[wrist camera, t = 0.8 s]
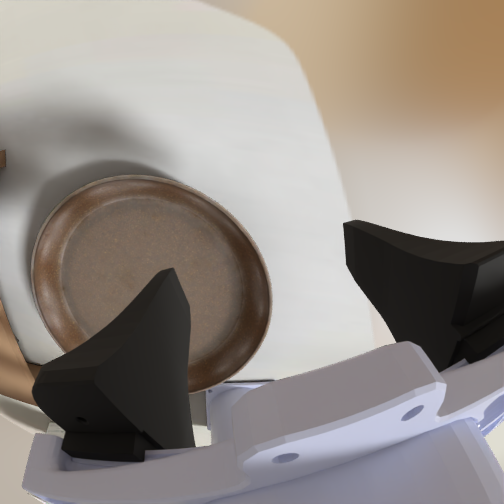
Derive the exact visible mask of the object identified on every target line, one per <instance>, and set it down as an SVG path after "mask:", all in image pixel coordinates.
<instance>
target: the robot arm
mask: <svg viewBox="0 0 504 504" xmlns="http://www.w3.org/2000/svg"><path fill="white" fill-rule="evenodd" d="M343 228H344V240H345V254H346V265H347V267H348V269H349V271H350V273H351V274H352V276H353V278H354V280H355V281H356V283H357V284H358V286H359V287H360V288H361V290H362V291H363V292H364V294H365V295H366V296H367V298H368V299H369V300H370V302H371V303H372V304H373V305H374V307H375V308H376V309H377V311H378V312H379V313H380V315H381V316H382V318H383V319H384V321H385V322H386V324H387V326H388V327H389V329H390V331H391V333H392V335H393V337H394V339H395V341H396V343H395V344H390V345H385V346H382V347H379V348H377V349H374V350H372V351H369V352H366V353H364V354H361V355H358V356H355V357H352V358H349V359H347V360H344V361H341V362H338V363H335V364H332V365H328V366H325V367H322V368H319V369H316V370H312V371H309V372H305V373H302V374H298V375H295V376H291V377H287V378H284V379H280V380H276V381H271V382H251V383H221V384H219V385H217V386H215V387H213V388H210V389H208V390H206V412H207V429H208V430H211V444H212V445H209V446H203V447H196V446H195V441H194V435H193V428H192V421H191V413H190V404H189V392H188V358H189V346H190V334H191V314H190V305H189V303H188V300H187V298H186V296H185V293H184V291H183V289H182V286H181V284H180V281H179V279H178V277H177V274H176V272H175V269H174V267H172V268H169V269H165V270H161V271H159V272H158V273H157V274H156V275H155V276H154V277H153V278H152V279H151V280H150V281H149V283H148V284H147V285H146V286H145V287H144V288H143V289H142V291H141V292H140V293H139V294H138V295H137V296H136V297H135V298H134V299H133V300H132V302H131V303H130V304H129V305H128V306H127V307H126V308H125V309H124V310H123V311H122V312H121V313H120V314H119V315H118V316H117V317H116V318H115V319H114V320H112V321H111V322H110V323H109V324H108V325H107V326H106V327H104V328H103V329H102V330H100V331H99V332H98V333H96V334H95V335H94V336H92V337H91V338H90V339H88V340H87V341H86V342H84V343H82V344H81V345H79V346H78V347H76V348H75V349H73V350H71V351H70V352H68V353H66V354H64V355H62V356H60V357H58V358H56V359H54V360H52V361H50V362H48V363H46V364H44V365H42V367H41V369H40V371H39V373H38V375H37V378H36V380H35V382H34V385H33V387H32V391H31V392H32V396H33V399H34V401H35V402H36V404H37V405H38V407H39V408H40V409H41V410H42V411H43V412H44V413H45V414H46V415H47V416H48V417H49V418H51V419H52V420H53V421H54V422H55V423H56V424H57V425H58V426H60V427H61V428H62V429H63V430H64V431H65V435H64V439H63V438H61V437H59V436H56V435H50V434H42V433H35V436H34V440H33V443H32V447H31V450H30V454H29V458H28V462H27V466H26V470H25V474H24V479H23V483H22V487H23V489H25V490H26V491H28V492H30V493H31V494H33V495H35V496H37V497H39V498H41V499H42V500H44V501H46V502H48V503H50V504H504V472H503V470H502V469H501V467H500V465H499V463H498V461H497V459H496V457H495V456H494V454H493V452H492V450H491V448H490V447H489V445H488V443H487V442H486V440H485V438H484V437H485V436H486V435H487V434H489V433H490V432H491V431H492V430H493V429H495V428H496V427H497V426H498V425H499V424H501V423H502V422H503V421H504V241H494V242H472V243H471V242H468V243H467V242H451V241H442V240H434V239H429V238H424V237H419V236H414V235H410V234H406V233H403V232H399V231H396V230H392V229H389V228H386V227H382V226H379V225H376V224H372V223H369V222H365V221H361V220H353V221H349V222H346V223H343Z"/></svg>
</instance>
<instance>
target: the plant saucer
mask: <svg viewBox="0 0 504 504" xmlns="http://www.w3.org/2000/svg"><path fill="white" fill-rule="evenodd" d="M172 267H174V269H175V272H176V274H177V277H178V279H179V281H180V284H181V286H182V289H183V291H184V293H185V296H186V298H187V300H188V303H189V305H190V314H191V334H190V346H189V358H188V392H189V394H194V393H198V392H202V391H205V390H208V389H210V388H213V387H215V386H217V385H219V384H221V383H223V382H225V381H227V380H228V379H230V378H231V377H233V376H234V375H236V374H237V373H238V372H239V371H240V370H242V369H243V368H244V367H245V366H246V365H247V364H248V363H249V361H250V360H251V359H252V358H253V357H254V355H255V354H256V352H257V351H258V350H259V348H260V346H261V345H262V343H263V341H264V339H265V337H266V334H267V331H268V328H269V325H270V321H271V315H272V302H273V300H272V287H271V281H270V276H269V273H268V269H267V266H266V263H265V261H264V258H263V256H262V254H261V252H260V250H259V248H258V246H257V245H256V243H255V242H254V240H253V239H252V237H251V236H250V234H249V233H248V232H247V230H246V229H245V228H244V227H243V225H242V224H241V223H240V222H239V221H238V220H237V219H236V218H235V217H234V216H233V215H232V214H231V213H230V212H229V211H227V210H226V209H225V208H224V207H223V206H221V205H220V204H219V203H217V202H216V201H214V200H213V199H212V198H210V197H208V196H206V195H205V194H203V193H201V192H200V191H198V190H195V189H193V188H191V187H189V186H187V185H184V184H182V183H179V182H176V181H173V180H169V179H166V178H161V177H156V176H149V175H119V176H112V177H107V178H103V179H100V180H97V181H94V182H91V183H89V184H87V185H85V186H83V187H81V188H79V189H77V190H76V191H74V192H72V193H71V194H69V195H68V196H67V197H65V198H64V199H63V200H62V201H61V202H60V203H59V204H58V205H57V206H56V207H55V208H54V209H53V210H52V211H51V213H50V214H49V216H48V217H47V218H46V220H45V222H44V223H43V225H42V227H41V229H40V231H39V233H38V236H37V238H36V241H35V245H34V248H33V253H32V259H31V284H32V291H33V296H34V300H35V303H36V307H37V310H38V312H39V315H40V317H41V319H42V321H43V323H44V325H45V327H46V329H47V331H48V332H49V333H50V335H51V336H52V338H53V339H54V341H55V342H56V343H57V345H58V346H59V347H60V348H61V349H62V351H63V352H64V353H65V354H66V353H68V352H70V351H71V350H73V349H75V348H76V347H78V346H79V345H81V344H82V343H84V342H86V341H87V340H88V339H90V338H91V337H92V336H94V335H95V334H96V333H98V332H99V331H100V330H102V329H103V328H104V327H106V326H107V325H108V324H109V323H110V322H111V321H112V320H114V319H115V318H116V317H117V316H118V315H119V314H120V313H121V312H122V311H123V310H124V309H125V308H126V307H127V306H128V305H129V304H130V303H131V302H132V300H133V299H134V298H135V297H136V296H137V295H138V294H139V293H140V292H141V291H142V289H143V288H144V287H145V286H146V285H147V284H148V283H149V281H150V280H151V279H152V278H153V277H154V276H155V275H156V274H157V273H158V272H159V271H161V270H165V269H169V268H172Z"/></svg>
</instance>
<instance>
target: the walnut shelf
mask: <svg viewBox="0 0 504 504" xmlns="http://www.w3.org/2000/svg"><path fill="white" fill-rule="evenodd" d="M5 166H6V159H5V150H2V151H0V168H2V167H5ZM18 341H19V340H18V339H17V338H16V337H15V335H14V334H13V332H12V329H11V327H10V324H9V322H8V319H7V316H6V314H5V311H4V308H3V305H2V302H1V299H0V394H2V395H4V396H7V397H10V398H13V399H16V400H19V401H22V402H25V403H28V404H31V405H35V406H38V405H37V404H36V402H35V401H34V399H33V396H32V392H31V391H32V387H33V385H34V382H35V380H36V378H37V375H38V373H39V371H40V369H41V367H42V366H38V365H34V364H30V363H26V362H25V359H24V357H23V355H22V353H21V351H20V349H19V346H18V344H17V342H18Z"/></svg>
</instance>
